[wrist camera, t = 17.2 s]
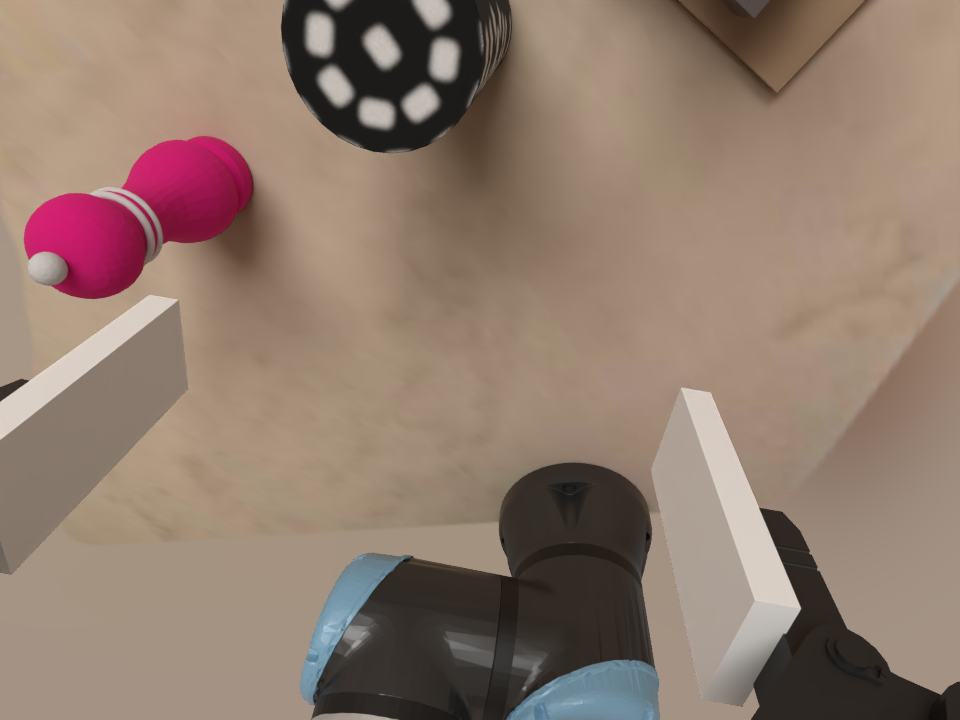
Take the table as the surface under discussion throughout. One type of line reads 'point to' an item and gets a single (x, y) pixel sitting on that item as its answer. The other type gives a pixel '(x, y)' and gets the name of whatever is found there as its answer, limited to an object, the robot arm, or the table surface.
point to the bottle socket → (746, 7)
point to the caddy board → (774, 32)
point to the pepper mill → (136, 217)
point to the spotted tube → (392, 64)
